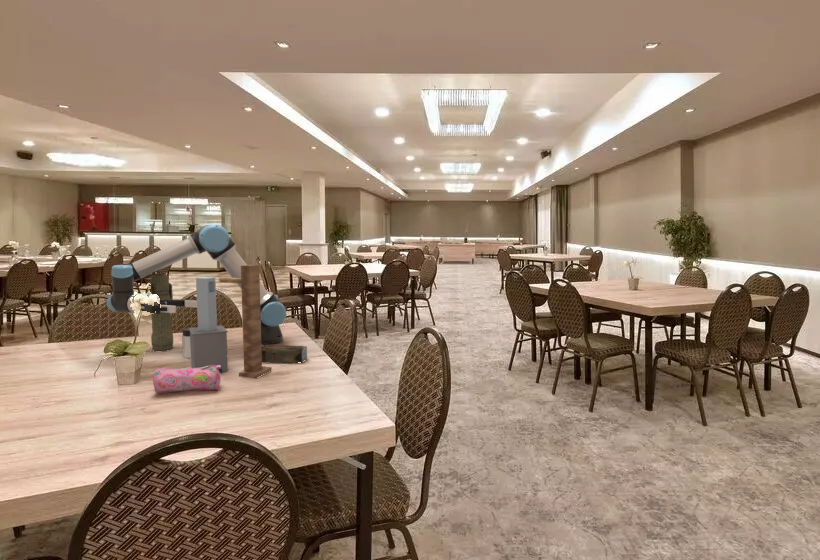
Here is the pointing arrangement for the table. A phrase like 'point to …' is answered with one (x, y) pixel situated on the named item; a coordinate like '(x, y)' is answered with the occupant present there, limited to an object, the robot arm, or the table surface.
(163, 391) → the pencil case
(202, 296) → the grey tall block
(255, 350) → the walnut stand
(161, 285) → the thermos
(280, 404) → the table surface
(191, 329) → the lidded box
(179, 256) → the robot arm
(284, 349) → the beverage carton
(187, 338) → the jar
